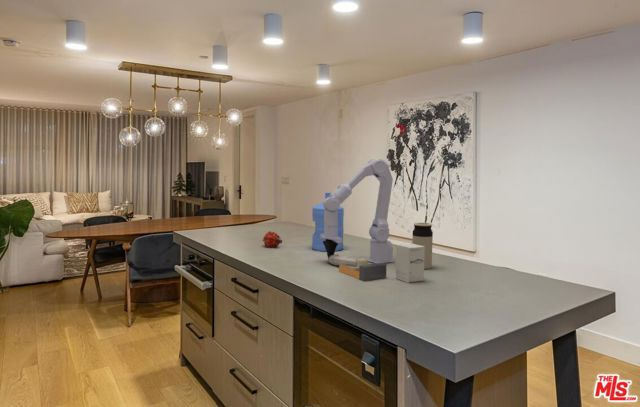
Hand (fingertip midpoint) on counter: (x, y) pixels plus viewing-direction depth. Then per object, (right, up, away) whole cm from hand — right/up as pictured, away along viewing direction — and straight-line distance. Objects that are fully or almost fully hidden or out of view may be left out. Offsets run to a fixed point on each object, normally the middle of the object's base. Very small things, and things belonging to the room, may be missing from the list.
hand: (330, 257), depth 184 cm
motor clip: (+11, -4, -19) cm, 23 cm away
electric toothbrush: (+7, -4, -12) cm, 14 cm away
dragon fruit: (-29, 0, +38) cm, 47 cm away
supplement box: (+28, -5, -26) cm, 39 cm away
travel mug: (+37, -3, -6) cm, 38 cm away
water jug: (-1, 0, +33) cm, 33 cm away
